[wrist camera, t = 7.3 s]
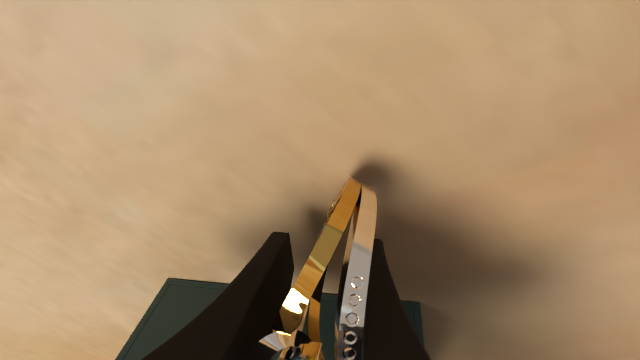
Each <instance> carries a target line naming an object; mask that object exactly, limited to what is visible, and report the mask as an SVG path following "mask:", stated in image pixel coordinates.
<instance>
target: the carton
mask: <svg viewBox="0 0 640 360" xmlns="http://www.w3.org/2000/svg"><path fill="white" fill-rule="evenodd" d="M228 285H229V284H221V283H211V282H200V281H190V280H180V279H170V278H168V279H167V280H166V282H165V284H164V285H163V287H162V288H161V290H160V291H159V293H158V294H157V296H156V297H155V299H154V301H153V302H152V304H151V305H150V307H149V308H148V310H147V311H146V313H145V314H144V316H143V318H142V319H141V321H140V322H139V324H138V325H137V327H136V328H135V330H134V331H133V333H132V335H131V336H130V338H129V339H128V341H127V342H126V344H125V345H124V347H123V348H122V350H121V352H120V353H119V355H118V356H117V358H116V359H115V360H141V359H142V358H144V357H145V356H147V355H148V354H149V353H151V352H152V351H153V350H155V349H156V348H157V347H159V346H160V345H162V344H163V343H164V342H166V341H167V340H168V339H170V338H171V337H172V336H174V335H175V334H176V333H177V332H179V331H180V330H181V329H182V328H183V327H185V326H186V325H187V324H188V323H189V322H190V321H192V320H193V319H194V318H195V317H196V316H198V315H199V314H200V313H201V312H202V311H203V310H204V309H205V308H206V307H207V306H208V305H210V304H211V303H212V302H213V301H214V300H215V299H216V298H217V297H218V296H219V295H220V294H221V293H222V292H223V291H224V290H225V289H226V287H227V286H228ZM290 291H291V290H290ZM337 299H338V295H334V294H323V293H322V295H321V302H320V313H319V332H320V342H321V343H322V352H323V355H324V358H325V360H335V320H336V308H337ZM401 302H402V304H403V307H404V309H405V311H406V313H407V315H408V318H409V320H410V322H411V324H412V326H413V328H414V330H415V332H416V334H417V335H418V337H419V339H420V341H421V343H422V345H423V347H424V348H425V346H424V337H423V328H422V319H421V310H420V303H416V302H405V301H401ZM302 332H303V330H302ZM278 354H279V351H278V352H277V353H276V354H275V355H274V360H276V359H277V357H278ZM361 360H363V340H362V357H361Z"/></svg>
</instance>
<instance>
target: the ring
mask: <svg viewBox="0 0 640 360" xmlns="http://www.w3.org/2000/svg"><path fill="white" fill-rule="evenodd" d="M352 212H353V214H352ZM351 214H352V220H351V225H350V230H349V235H348V239H347V244H346V249H345V255H344V260H343V265H342V271H341V277H340V284H339V291H338V299H337V308H336V320H335V360H361V357H362V340H363V328H364V317H365V307H366V298H367V290H368V281H369V273H370V265H371V257H372V250H373V242H374V234H375V226H376V214H377V200H376V194H375V191H374V189H373V188H371V187H369V186H367V185H365V184H362V183H361V182H359V181H357V180H354V179H352V178H350V177H349V178H348V179H347V180H346V182H345V184H344V185H343V187H342V189H341V190H340V192H339V194H338V196H337V198H336V200H335V201H333V202H332V204H331V205H330V208H329V210H328V212H327V217H326V219H325V222H324V224H323V226H322V229H321V231H320V233H319V236H318V238H317V241H316V243H315V246H314V248H313V251H312V252H311V254H310V256H309V258H308V260H307V262H306V263H305V265H304V267H303V269H302V271H301V273H300V274H299V276H298V278H297V280H296V282H295V283H294V285H293V287H292V289H291V291H290V293H289V294H288V296H287V298H286V300H285V302H284V304H283V305H282V307H281V309H280V311H279V313H278V315H277V317H276V318H275V320H274V322H273V324H272V326H271V328H270V330H269V331H268V333H267V335H266V337H264V338H263V339H261V340H260V341H259V342H257V343H256V344H255V345H254V346H253V347H252V349H251V350H250V352H249V353H248V355H247V358H246V360H274V355H275V354H276V353H277V352H278V351H279V354H278V357H277V359H276V360H325V358H324V355H323V352H322V343H321V342H320V332H319V313H320V302H321V295H322V289H323V284H324V279H325V275H326V271H327V267H328V264H329V261H330V259H331V257H332V255H333V253H334V251H335V249H336V247H337V245H338V243H339V240H340V238H341V236H342V234H343V232H344V230H345V228H346V226H347V224H348V222H349V220H350V217H351ZM302 330H303V332H302Z"/></svg>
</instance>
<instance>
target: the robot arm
mask: <svg viewBox="0 0 640 360" xmlns="http://www.w3.org/2000/svg"><path fill="white" fill-rule="evenodd" d="M293 272H294V263H293V257H292V250H291V243H290V237H289V233H284V232H273V233H272V234H271V235H270V236H269V238H268V239H267V240H266V242H265V243H264V244H263V245H262V247H261V248H260V249H259V251H258V252H257V253H256V254H255V256H254V257H253V258H252V259H251V260H250V262H249V263H248V264H247V265H246V266H245V268H244V269H243V270H242V271H241V272H240V273H239V275H238V276H237V277H236V278H235V279H234V280H233V281H232V282H231V283H230V284H229V285H228V286H227V287H226V289H225V290H224V291H223V292H222V293H221V294H220V295H219V296H218V297H217V298H216V299H215V300H214V301H213V302H212V303H211V304H210V305H208V306H207V307H206V308H205V309H204V310H203V311H202V312H201V313H200V314H199V315H198V316H196V317H195V318H194V319H193V320H192V321H190V322H189V323H188V324H187V325H186V326H185V327H183V328H182V329H181V330H180V331H179V332H177V333H176V334H175V335H174V336H172V337H171V338H170V339H168V340H167V341H166V342H164V343H163V344H162V345H160V346H159V347H157V348H156V349H155V350H153V351H152V352H151V353H149V354H148V355H147V356H145V357H144V358H142V359H141V360H246V358H247V355H248V353H249V352H250V350H251V349H252V347H253V346H254V345H255V344H256V343H257V342H259V341H260V340H261V339H263V338H264V337H266V335H267V333H268V331H269V330H270V328H271V326H272V324H273V322H274V320H275V318H276V317H277V315H278V313H279V311H280V309H281V307H282V305H283V304H284V302H285V300H286V298H287V296H288V294H289V293H290V288H291V283H292V278H293ZM363 360H431V359H430V357H429V355H428V354H427V352H426V350H425V348H424V347H423V345H422V343H421V341H420V339H419V337H418V335H417V334H416V332H415V330H414V328H413V326H412V324H411V322H410V320H409V318H408V315H407V313H406V311H405V309H404V307H403V304H402V302H401V300H400V297H399V295H398V293H397V290H396V287H395V285H394V282H393V279H392V276H391V273H390V270H389V267H388V264H387V260H386V256H385V252H384V247H383V241H382V240H381V239H374V242H373V250H372V257H371V265H370V273H369V281H368V290H367V298H366V307H365V317H364V328H363Z"/></svg>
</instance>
